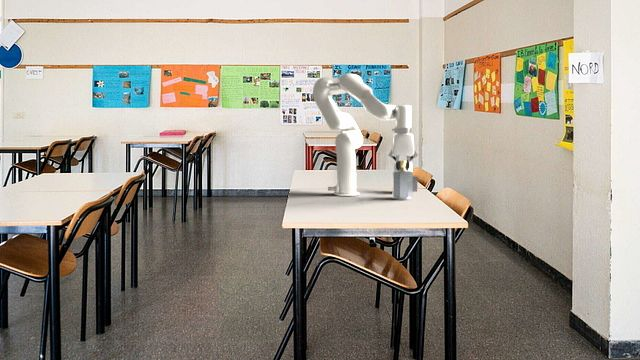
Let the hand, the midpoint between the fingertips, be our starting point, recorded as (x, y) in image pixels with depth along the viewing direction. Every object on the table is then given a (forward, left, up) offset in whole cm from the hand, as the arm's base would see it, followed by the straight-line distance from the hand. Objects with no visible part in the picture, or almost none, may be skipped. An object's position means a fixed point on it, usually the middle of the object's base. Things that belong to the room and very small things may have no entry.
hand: (402, 169), depth 298 cm
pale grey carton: (+1, 0, -14) cm, 14 cm away
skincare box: (+3, +20, -14) cm, 25 cm away
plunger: (0, 0, -12) cm, 12 cm away
